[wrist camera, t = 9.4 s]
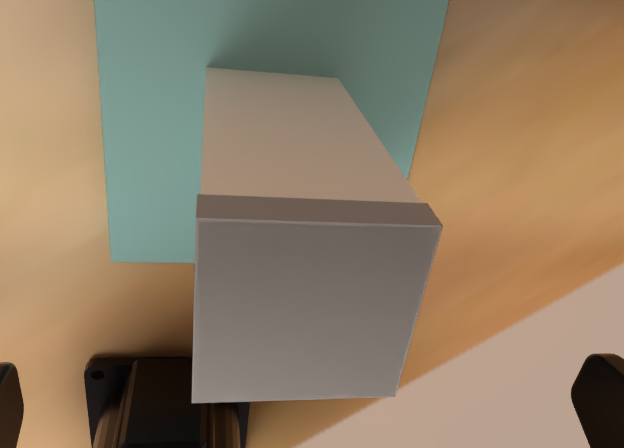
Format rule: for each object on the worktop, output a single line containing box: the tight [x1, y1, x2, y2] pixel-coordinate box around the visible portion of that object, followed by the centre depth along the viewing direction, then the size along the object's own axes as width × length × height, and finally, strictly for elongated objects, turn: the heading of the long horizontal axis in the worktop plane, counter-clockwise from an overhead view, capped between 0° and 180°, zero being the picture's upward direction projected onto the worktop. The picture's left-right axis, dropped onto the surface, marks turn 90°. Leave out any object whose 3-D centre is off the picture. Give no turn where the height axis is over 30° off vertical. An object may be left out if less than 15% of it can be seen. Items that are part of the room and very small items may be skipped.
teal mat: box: [94, 0, 449, 263], centre depth 18 cm, size 10×10×1 cm
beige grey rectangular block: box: [192, 67, 443, 403], centre depth 14 cm, size 4×4×9 cm
